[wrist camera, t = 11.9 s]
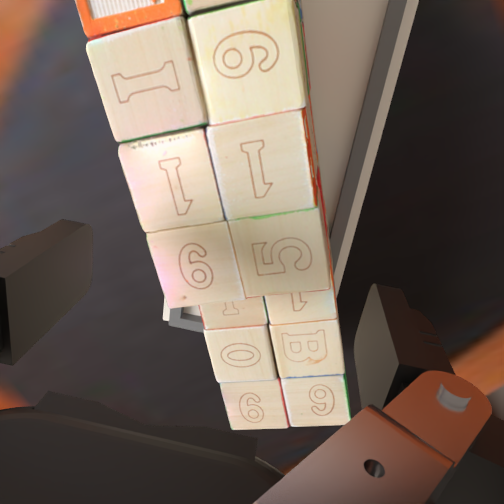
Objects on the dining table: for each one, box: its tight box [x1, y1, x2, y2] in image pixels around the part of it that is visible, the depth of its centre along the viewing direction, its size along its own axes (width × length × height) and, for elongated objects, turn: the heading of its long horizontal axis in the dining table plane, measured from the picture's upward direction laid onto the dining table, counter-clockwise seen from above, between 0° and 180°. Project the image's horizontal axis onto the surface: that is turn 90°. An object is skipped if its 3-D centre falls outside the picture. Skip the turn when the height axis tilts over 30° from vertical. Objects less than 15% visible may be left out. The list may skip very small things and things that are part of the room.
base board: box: [163, 0, 419, 333], centre depth 26 cm, size 26×12×2 cm, turn 171°
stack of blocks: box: [75, 0, 351, 430], centre depth 20 cm, size 21×6×12 cm, turn 11°
